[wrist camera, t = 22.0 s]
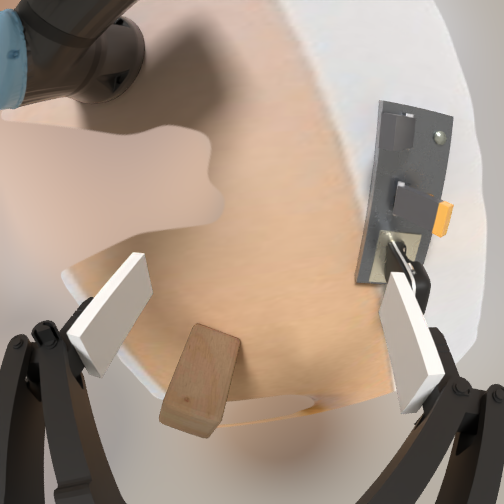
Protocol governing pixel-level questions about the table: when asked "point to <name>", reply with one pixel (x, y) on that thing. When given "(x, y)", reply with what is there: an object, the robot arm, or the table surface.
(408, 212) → the lever
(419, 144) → the panel
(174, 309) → the table surface
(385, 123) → the lever
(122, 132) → the table surface
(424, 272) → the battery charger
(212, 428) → the wooden block
